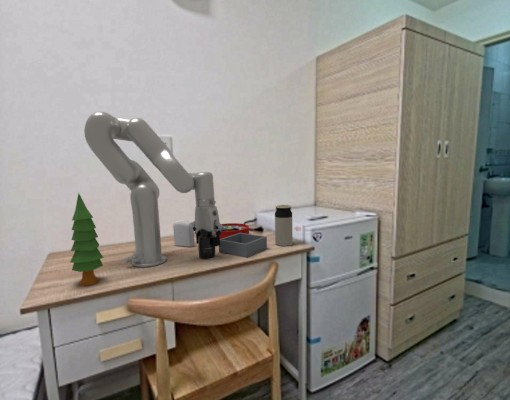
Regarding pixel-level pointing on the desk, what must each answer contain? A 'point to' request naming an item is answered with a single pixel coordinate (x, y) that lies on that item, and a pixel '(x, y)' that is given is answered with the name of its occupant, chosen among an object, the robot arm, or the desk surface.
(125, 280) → the desk surface
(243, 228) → the toy clock
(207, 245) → the supplement bottle
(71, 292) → the desk surface
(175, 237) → the photo printer
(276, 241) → the travel mug
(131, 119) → the robot arm
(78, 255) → the decorative tree
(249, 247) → the box
